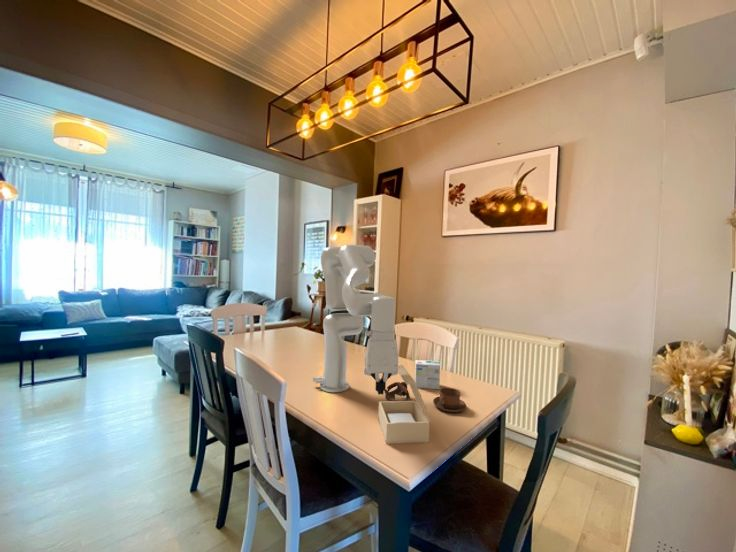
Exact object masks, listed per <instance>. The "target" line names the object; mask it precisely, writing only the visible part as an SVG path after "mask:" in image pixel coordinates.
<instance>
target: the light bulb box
mask: <svg viewBox="0 0 736 552" xmlns="http://www.w3.org/2000/svg"><path fill="white" fill-rule="evenodd" d="M414 363H415V364H414V366H415V367H414V381H415V383H416V386H417V388H418V389H429V390H431V389H432V390H440V377H441V374H440V373H441V365H440V363H439V360H428V359H427V360H423V359H415V362H414Z"/></svg>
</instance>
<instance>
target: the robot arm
mask: <svg viewBox="0 0 736 552" xmlns="http://www.w3.org/2000/svg"><path fill="white" fill-rule="evenodd" d="M375 261H376V253H375V251H374V249H373V248H372V247H371V246H369V245H363V244H346V245H344V246H328V247H325V248H324V249H323V250H322V252H321V255H320V264H321V268H322V272H323V276H324V283H325V284H324V286H325V287H324V288H325V304H326V307H327V309H328V310H330V311H348V312H340V313H330V314H328V315H326V316H325V317H324V318H323V321H322V322H323V323H322V326H323V327H322V328H323V333H324V334H323V335H324V357H323V359H324V361H323V362H324V363H323V375H322V376H319V377H318V376H314V377H313V378H312V382H313V383H315V384H319V388H320V390H322V391H324V392H327V393H341V392H345V391H348V390H349V389H350V383H349V382H348V381H347V357H348V355H347V354H348V346H347V343H346V341H345V340H344V339H343V338H342V337H343V336H345V337H346V336H354V335H360V334H361V333H362V332H363V329H364V317H370V330H369V331H366V332H365V336H367V337H369V338H368V340H367V342H366V343H367V344H366V347H365V348H366V349H365V356H364V357H365V359H364V361H365V362H364V366H365V368H364V370H363V374H364V375H366V376H370V377H372V378H373V379H374V380H375V391H376V392H377V395H385V392H384V391H385V390H386V389H387V387H386V385H387V381H388V380H389V378H391V377H392V376H396V375H398V374H399V372H398V366H399V349H398V348H399V346H398V341H397V340H396V339H395V327H396V326H395V324H396V323H395V322H396V300H395V298H394V297H392V296H389V295H387V296H386V295H385V294H382V293H362V292H361V291H360V290H358V289H357V288H355V287H358V286H360V285H362V284H364V283H365V282H367V280H368V279H369V277H370V274H371V273H370V269H369V268H370V267H372V266H374V263H375ZM339 268H343V271H344V273H345V275H346V279H345V275H344V274H343V273H342V271H341V269H339ZM380 374H382V375H381V378H380Z"/></svg>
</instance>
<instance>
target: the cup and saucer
mask: <svg viewBox="0 0 736 552" xmlns="http://www.w3.org/2000/svg"><path fill="white" fill-rule="evenodd" d="M433 405H435V407H436V408H438V409H440V410H441V411H445V412H449V413H459V412H462V411H464V410H465V409H466V408H467V404H466V402H465V401H463V400H462V399H461V392H460V390H457V388H456V389H455V388H452V387H451V388H450V387H443V388H441V389H439V396H437V397H434V398H433Z"/></svg>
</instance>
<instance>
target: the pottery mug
mask: <svg viewBox="0 0 736 552" xmlns="http://www.w3.org/2000/svg"><path fill="white" fill-rule="evenodd" d="M393 388H395V389H393ZM392 389H393V390H392ZM396 396H400V397H402V396H403V397H405V399H406V401H412V400H411V396H410V392H409V390H408V385H406V383H405V382H404V381H401V382H400V381H395V382H393V383H391V384H390V385H388V386H387V387H386V388H385V391H384V398H385V399H386V400H391V399H392V400H393V401H396Z"/></svg>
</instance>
